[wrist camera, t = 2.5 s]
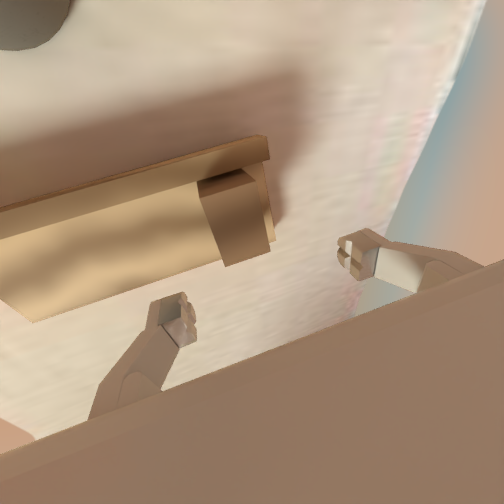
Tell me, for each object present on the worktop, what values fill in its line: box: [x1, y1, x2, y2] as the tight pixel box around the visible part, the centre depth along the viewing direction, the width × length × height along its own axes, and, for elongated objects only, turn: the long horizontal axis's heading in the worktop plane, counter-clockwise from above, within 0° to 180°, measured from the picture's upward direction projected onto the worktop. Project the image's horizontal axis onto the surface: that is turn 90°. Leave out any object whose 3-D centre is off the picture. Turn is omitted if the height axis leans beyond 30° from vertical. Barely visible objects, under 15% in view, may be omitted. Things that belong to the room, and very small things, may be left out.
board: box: [0, 135, 276, 323], centre depth 19 cm, size 11×26×4 cm, turn 103°
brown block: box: [196, 168, 271, 267], centre depth 18 cm, size 7×4×5 cm, turn 13°
